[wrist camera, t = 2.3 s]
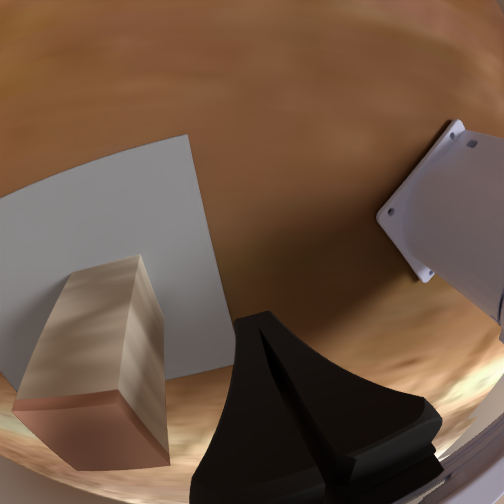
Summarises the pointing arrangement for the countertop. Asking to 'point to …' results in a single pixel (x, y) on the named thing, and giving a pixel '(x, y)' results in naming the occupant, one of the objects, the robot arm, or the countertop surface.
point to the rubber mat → (115, 252)
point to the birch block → (100, 372)
